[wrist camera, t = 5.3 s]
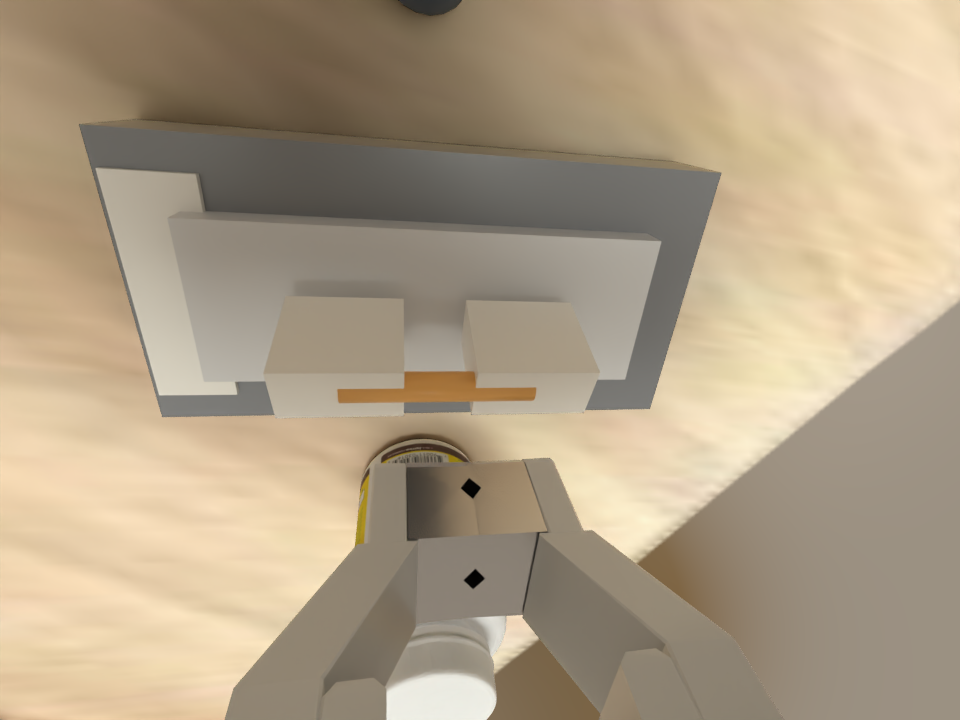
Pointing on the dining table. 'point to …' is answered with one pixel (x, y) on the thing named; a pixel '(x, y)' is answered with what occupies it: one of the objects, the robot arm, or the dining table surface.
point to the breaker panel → (385, 248)
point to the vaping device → (431, 6)
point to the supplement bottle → (437, 630)
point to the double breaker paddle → (386, 386)
